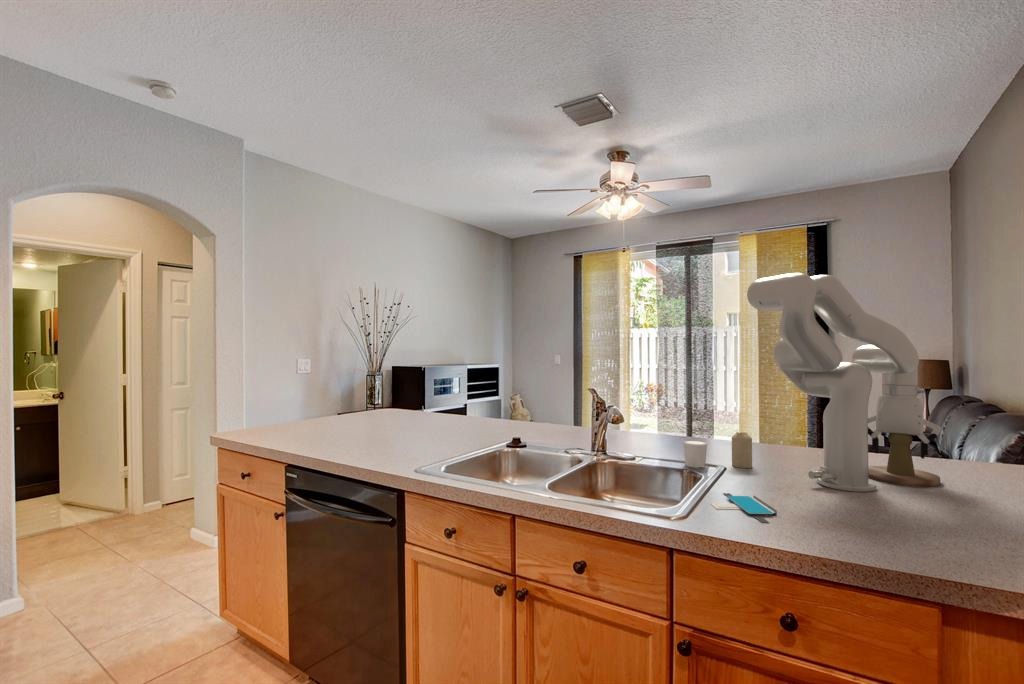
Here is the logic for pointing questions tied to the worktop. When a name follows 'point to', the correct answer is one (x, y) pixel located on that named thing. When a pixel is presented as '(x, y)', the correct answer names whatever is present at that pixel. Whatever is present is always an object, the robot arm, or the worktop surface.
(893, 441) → the olive green pepper mill
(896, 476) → the walnut board
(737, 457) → the candle
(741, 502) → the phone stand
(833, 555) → the worktop surface
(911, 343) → the robot arm
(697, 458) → the white cup
